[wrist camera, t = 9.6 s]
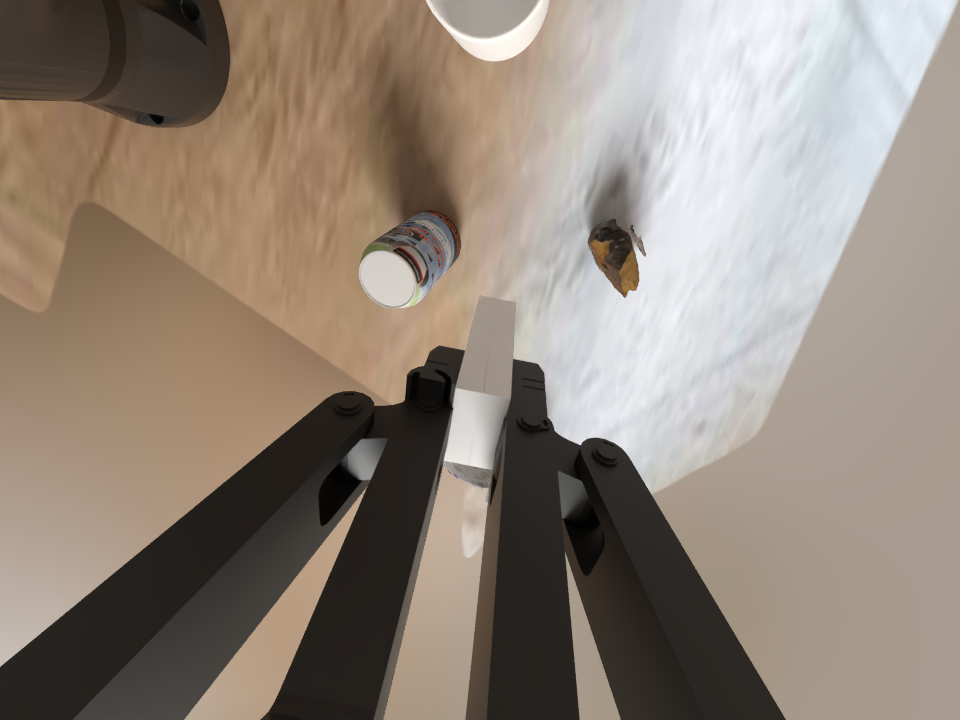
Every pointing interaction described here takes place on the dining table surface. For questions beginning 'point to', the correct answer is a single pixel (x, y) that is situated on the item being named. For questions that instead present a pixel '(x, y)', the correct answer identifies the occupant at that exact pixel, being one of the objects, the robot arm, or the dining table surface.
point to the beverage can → (409, 259)
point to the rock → (616, 255)
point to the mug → (491, 24)
